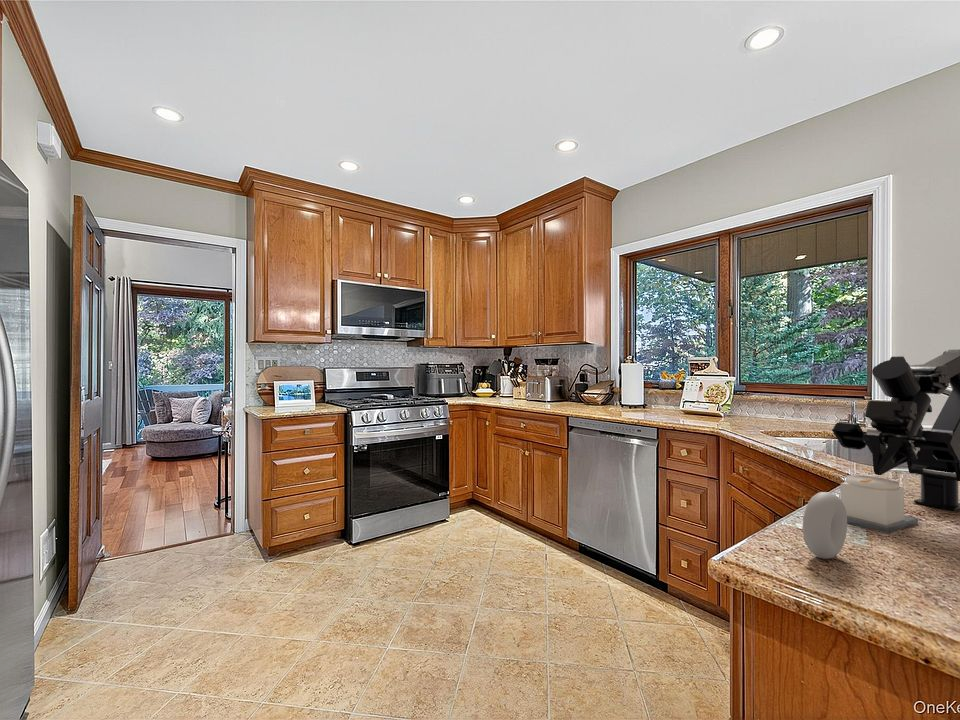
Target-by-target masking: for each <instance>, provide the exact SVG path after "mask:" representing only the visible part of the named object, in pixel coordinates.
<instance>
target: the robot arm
mask: <svg viewBox="0 0 960 720" xmlns="http://www.w3.org/2000/svg"><path fill="white" fill-rule="evenodd" d="M904 356H905V355H903V356H900V355H899V356H891V357H890V359H888V360H886V361H882V362H880V363H878V364H877V365H875V366H873V368H872V370H871V372H872V376H873V377H874V380H876V383H878V386H879V388H880V389H881V391H882V392H883V394H884V396H886V397H889V398H891V399H890V401H889V400H887V401H886V400H885V401H884V400H882V401H881V400H868V401H867V404H866V408H865V414H864V417H866V418H868V419H869V420H870V421H871V422H870V426H871V427H872V428H867V429H866V431H864V430H863V429H862V428H861V426H860V423H851V422H842V421H840V422H839V421H838V422H836V423H835V424H834V425H833V427H832V429H831V432H832V433H833V435H834V436H835V438H836V439H837V441H838V442H839V444H840V445H841V446H842V447H843V448H845V449H852V450H862V449H865V448H866V447H867V448H868V449H869V451H870V453H871V454H872V468H873V473H874V474H875V475H876V476H882V475H884V474H885V473H887V472H889V471H892V470H893V469H895V468H896V467H898V466H900V465H903V464H904V463H906V465H907V468H908V473H909V474H912V475H913V474H914V475H920V498H918V499H917V498H916V499H913V503H914V504H919V505H924V506H928V507H929V506H930V507H934V508H940V509H944V510H949V511H957V510H960V502H959V501H960V500H959V482H960V349H948V350H944V351H943V353H942V354H940V355H938V356H935V358H933V359H931V360H929V361H927V362H925V363H923V364H913V365H910V364H909V363H908V362H907V360H906V359H905V357H904ZM949 387H950V388H951V391H950V394H949V395H948V397H947V398H946V401H945V402H944V404H943V406H942V408H941V410H940V412H939V413H938V416H937V418H936V419H935V421H934V423H933V425H932V427H931V429H930V430H927V429H926V430H924V427H923V424H922V422H923V420H924V419H925V416H926V413H932V412H933V408H932V405H931V402H932V399H931V397H930V396H929V395H941V394H942V393H943V392H945V390H947V389H948V388H949Z"/></svg>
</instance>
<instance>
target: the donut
mask: <svg viewBox="0 0 960 720" xmlns="http://www.w3.org/2000/svg"><path fill="white" fill-rule="evenodd" d="M802 520H803V521H802V535H803V539H804V543H805V545H806V547H807V550H808V551H809V552H810V553H812V554H813V555H814V556H815V557H817V558H819V559H824V560H827V559H833V558H835V557H837V555H838V554H840V552H841V550H842V549H843V547H844V544H845V541H846V538H847V537H846V536H847V533H848V532H847V531H848V523H847V514H846V509H845V507H844V504H843V502H842V501H841V498H840V497H839V496H837V495H836V494H834V493H832V492H828V491H820V492H817V493H816V494H814V495H813V496H812V497H810V499H809V501H808V503H807V504H806V507H805V510H804V514H803V519H802Z"/></svg>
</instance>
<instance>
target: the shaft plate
mask: <svg viewBox="0 0 960 720" xmlns="http://www.w3.org/2000/svg"><path fill="white" fill-rule="evenodd" d="M847 524H849V525H853V526H857V527H861V528H864V529H868V530H872V531H877V532H880V533H885V534H890V533H894V532H897V531H899V530H903V529H906V528H909V527H912V526H915V525H918V524H919V517H918V518H917V517H913V516H909V515H905V514H904V520H902V521H899V522H895V523H892V524H889V525H883V524H879V523H875V522H871V521H867V520H863V519H859V518H855V517H850V516H847Z"/></svg>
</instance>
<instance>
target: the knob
mask: <svg viewBox="0 0 960 720" xmlns="http://www.w3.org/2000/svg"><path fill="white" fill-rule="evenodd" d="M840 500H841V501H842V502H843V504H844V507H845V509H846V514H847V516H850V517H855V518H859V519H863V520H867V521H871V522H875V523H879V524H883V525H889V524H892V523H895V522H899V521H902V520H904V515H905V487H903V486H900V483H899V482H897V481H896V480H892V479H889V478H884V477H877V476H869V475H859V474H858V475H846V476H845V482H840Z"/></svg>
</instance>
